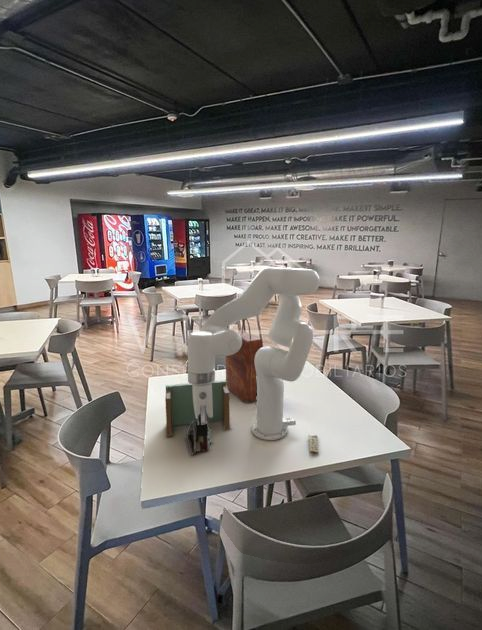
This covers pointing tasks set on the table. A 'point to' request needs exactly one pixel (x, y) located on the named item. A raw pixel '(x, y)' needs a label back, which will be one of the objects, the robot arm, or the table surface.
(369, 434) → the table surface
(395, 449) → the table surface
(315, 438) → the snack bar
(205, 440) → the chocolate cake
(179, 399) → the cubby shelf
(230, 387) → the handbag
